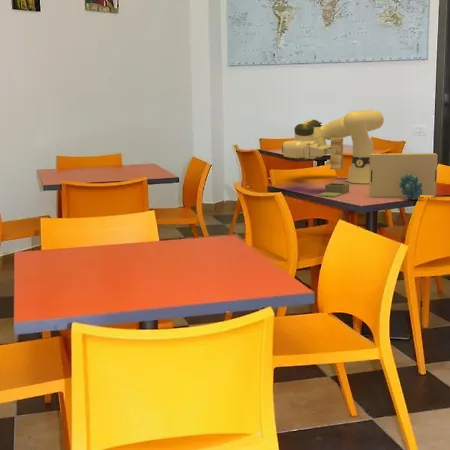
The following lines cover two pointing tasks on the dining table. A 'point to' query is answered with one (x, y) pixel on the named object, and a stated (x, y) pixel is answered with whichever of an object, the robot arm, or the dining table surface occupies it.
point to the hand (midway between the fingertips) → (338, 150)
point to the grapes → (410, 186)
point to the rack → (337, 188)
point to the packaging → (401, 173)
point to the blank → (337, 154)
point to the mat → (329, 194)
